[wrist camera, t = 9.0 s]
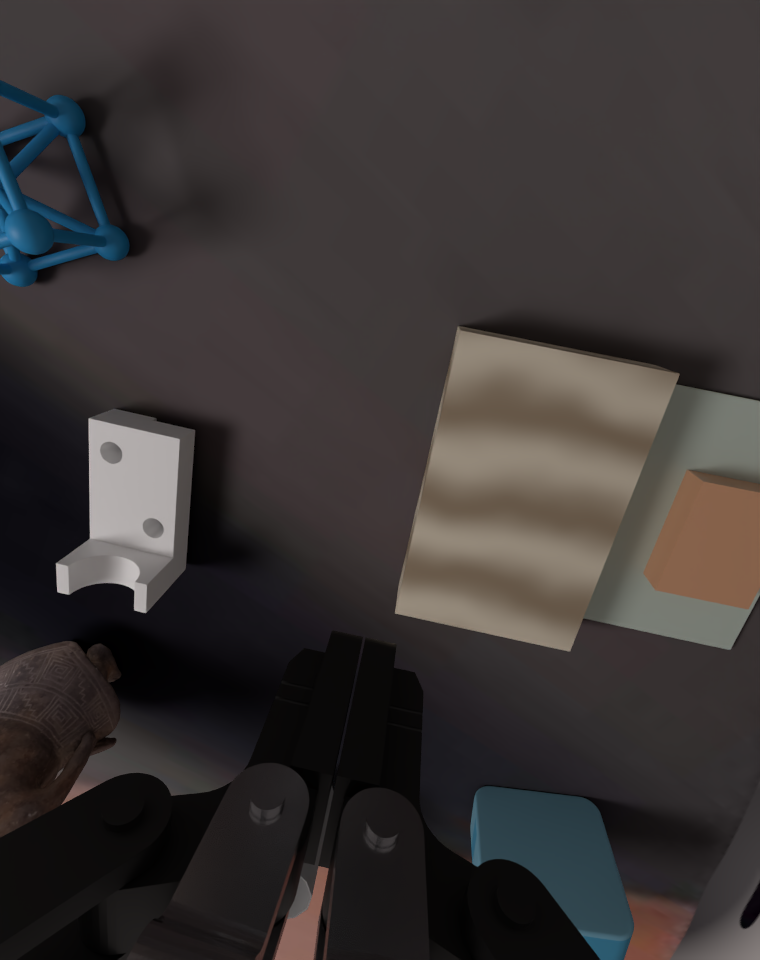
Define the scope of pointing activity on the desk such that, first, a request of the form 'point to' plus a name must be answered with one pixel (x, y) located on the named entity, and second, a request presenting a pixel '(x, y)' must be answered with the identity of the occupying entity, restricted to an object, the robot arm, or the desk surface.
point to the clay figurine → (52, 725)
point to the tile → (710, 542)
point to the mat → (676, 448)
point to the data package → (558, 858)
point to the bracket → (134, 507)
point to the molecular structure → (22, 220)
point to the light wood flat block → (527, 484)
